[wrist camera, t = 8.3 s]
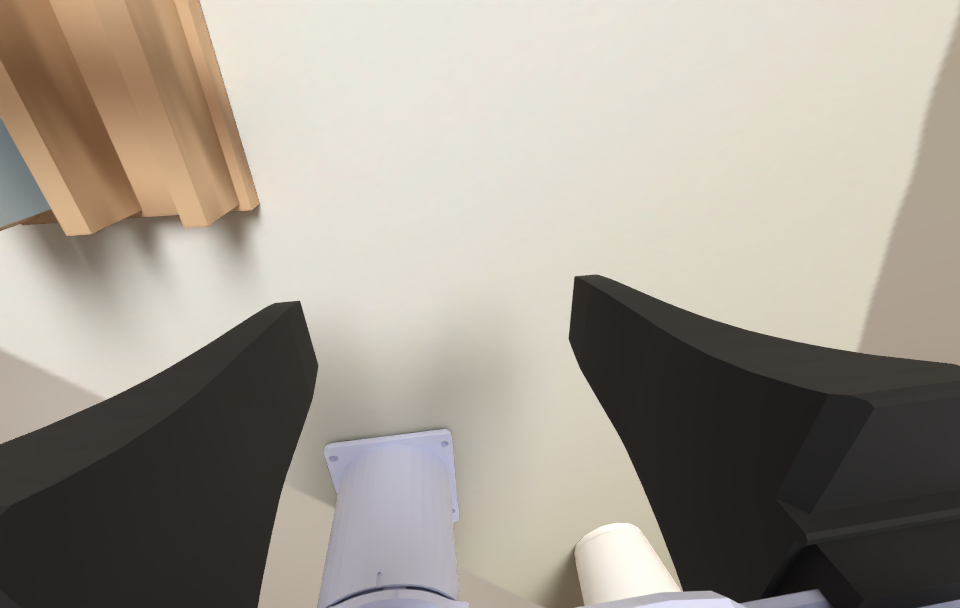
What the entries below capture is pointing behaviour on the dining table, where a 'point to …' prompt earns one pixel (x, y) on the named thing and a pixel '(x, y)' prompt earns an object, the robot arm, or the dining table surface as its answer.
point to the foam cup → (619, 565)
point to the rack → (120, 112)
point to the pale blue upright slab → (17, 184)
